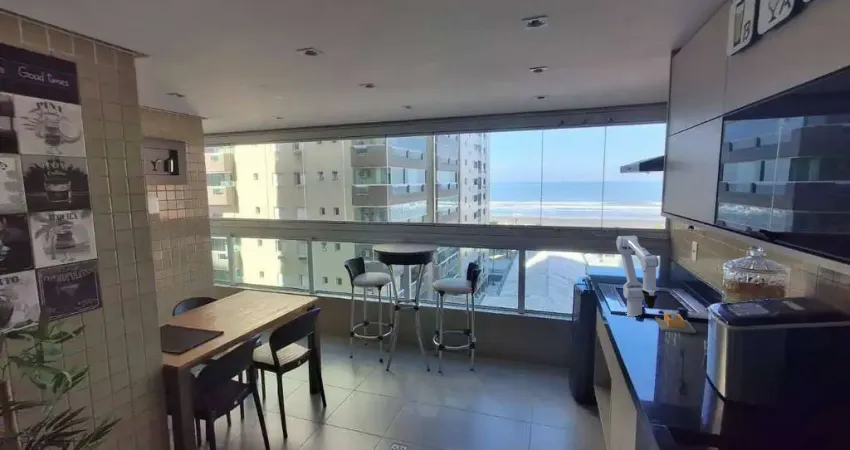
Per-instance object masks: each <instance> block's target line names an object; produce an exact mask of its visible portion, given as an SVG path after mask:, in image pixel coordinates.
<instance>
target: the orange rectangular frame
mask: <svg viewBox="0 0 850 450" xmlns="http://www.w3.org/2000/svg"><path fill="white" fill-rule="evenodd" d="M671 314H672V313H665V312H664V313H663V317H664V321H665V322H666V324H667V325H668V327H679V328H685V320H684V319H683V318H684V317H682V316H681V314H680V313H675V314H676V315H677V319H671Z"/></svg>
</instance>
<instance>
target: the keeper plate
mask: <svg viewBox="0 0 850 450" xmlns="http://www.w3.org/2000/svg"><path fill="white" fill-rule="evenodd" d="M670 314H671V319H677V315H676V314H677V313H675V312H672V313H670ZM657 317H658V316H655V318H656V320H655V322H656V321H657V322H656V323H657V325H658V327H659V328H660V330H661V331H662V332H670V333H671V332H673V333H685V334H687V333H688V334H696V333H697V331H696V329H695V328H694V327H693V326H692V325H691V323H690V322H689V321H688V320H687V319H686V320H685V328H679V327H668V325H667V324H666V322H665V321H664V320H661V319H660V318H657ZM655 318H654V319H655Z"/></svg>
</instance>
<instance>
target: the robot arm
mask: <svg viewBox="0 0 850 450" xmlns="http://www.w3.org/2000/svg"><path fill="white" fill-rule="evenodd" d="M615 243H616V248H617V252H618V253H620V256H621V259H622V264H623V267H624V268H623V269H624V273H625V278H626V282H625V283H624V284H623V286H622V288H623V289H622V290H623V291H622V293H623V297H624V298H625V299H626V310H625V311H626V312H627V313H626V312H625V315H626V314H627V315H626V316H627V317H630V318H636V317H635V316H638V315H641V314H643V309H642V308H643V300H644V302H645V304H646V305H647V308H648V309H654V307H655V303H656V300H657V298H658V295H657V294H655V292H656V291H659V287H657V284H656V283H657V267H658V266H659V264H660V262H659V259H658V257H657V255H653V254H651V253H650V252H649V251H648V250H647V249H646V248H645V247H642V246H641V245H640V244H639V238H638V237H637V235H621V236H620V235H618V236H617V237H616V241H615ZM634 252H635V256H636V258H637V259H638V260H640V266H641V270H642V283H641V282H640V281H638V279H637V278H638V277H637V274H636V270H635V265H634V261H633V256H632V253H634Z"/></svg>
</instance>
